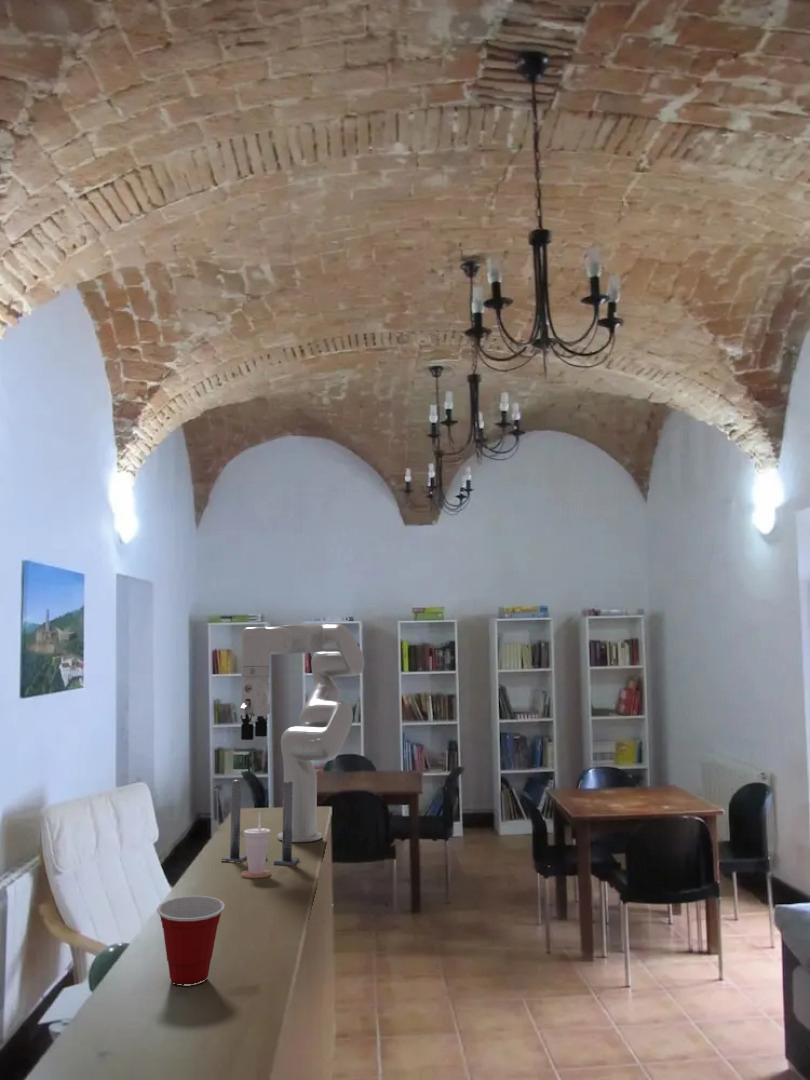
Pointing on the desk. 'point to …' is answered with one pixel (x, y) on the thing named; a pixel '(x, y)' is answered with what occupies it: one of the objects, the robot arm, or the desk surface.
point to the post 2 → (287, 827)
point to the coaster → (256, 876)
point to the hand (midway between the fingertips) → (254, 738)
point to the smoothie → (256, 847)
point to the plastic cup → (190, 936)
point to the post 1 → (235, 824)
